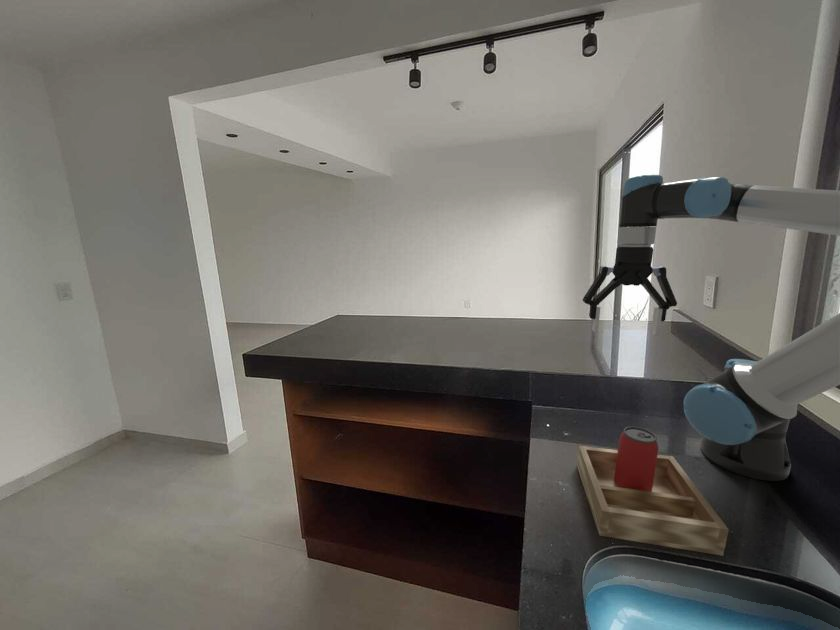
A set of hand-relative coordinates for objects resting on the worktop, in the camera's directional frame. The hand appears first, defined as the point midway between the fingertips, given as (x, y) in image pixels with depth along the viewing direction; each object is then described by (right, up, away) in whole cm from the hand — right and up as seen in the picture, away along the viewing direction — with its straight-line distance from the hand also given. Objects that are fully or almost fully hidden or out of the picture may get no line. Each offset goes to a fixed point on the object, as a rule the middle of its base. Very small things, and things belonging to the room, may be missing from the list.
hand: (624, 332), depth 88 cm
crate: (-9, -32, -20) cm, 39 cm away
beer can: (-8, -31, -17) cm, 36 cm away
